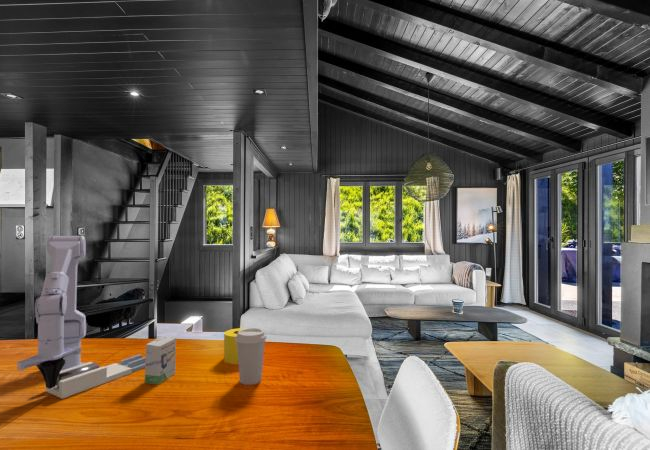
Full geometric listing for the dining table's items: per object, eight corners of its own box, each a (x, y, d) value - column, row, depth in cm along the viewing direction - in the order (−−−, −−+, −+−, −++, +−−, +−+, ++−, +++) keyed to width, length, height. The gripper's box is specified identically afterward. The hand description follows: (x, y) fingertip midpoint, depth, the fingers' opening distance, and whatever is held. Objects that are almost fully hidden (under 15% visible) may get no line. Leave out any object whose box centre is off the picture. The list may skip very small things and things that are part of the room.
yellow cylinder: (258, 357, 132) (258, 331, 132) (238, 366, 123) (238, 338, 123) (238, 351, 137) (239, 326, 137) (218, 359, 129) (218, 333, 129)
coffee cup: (272, 377, 114) (272, 329, 114) (254, 389, 105) (254, 338, 105) (247, 371, 118) (247, 325, 118) (228, 383, 109) (228, 333, 110)
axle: (61, 391, 101) (63, 378, 101) (54, 384, 103) (56, 371, 103) (98, 378, 110) (100, 366, 109) (91, 372, 112) (93, 360, 111)
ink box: (162, 372, 117) (162, 335, 117) (176, 373, 116) (176, 337, 116) (143, 383, 109) (144, 344, 109) (159, 385, 108) (159, 345, 108)
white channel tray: (45, 391, 103) (45, 375, 103) (115, 367, 121) (115, 354, 121) (62, 398, 99) (62, 382, 99) (131, 373, 117) (131, 359, 117)
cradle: (117, 367, 121) (117, 359, 121) (137, 360, 127) (137, 353, 127) (132, 372, 117) (132, 364, 117) (151, 364, 123) (152, 357, 123)
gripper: (26, 348, 92) (25, 401, 92) (86, 333, 105) (86, 380, 105) (13, 343, 96) (13, 394, 96) (73, 329, 108) (73, 375, 108)
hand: (50, 387), depth 101 cm, fingers closed
